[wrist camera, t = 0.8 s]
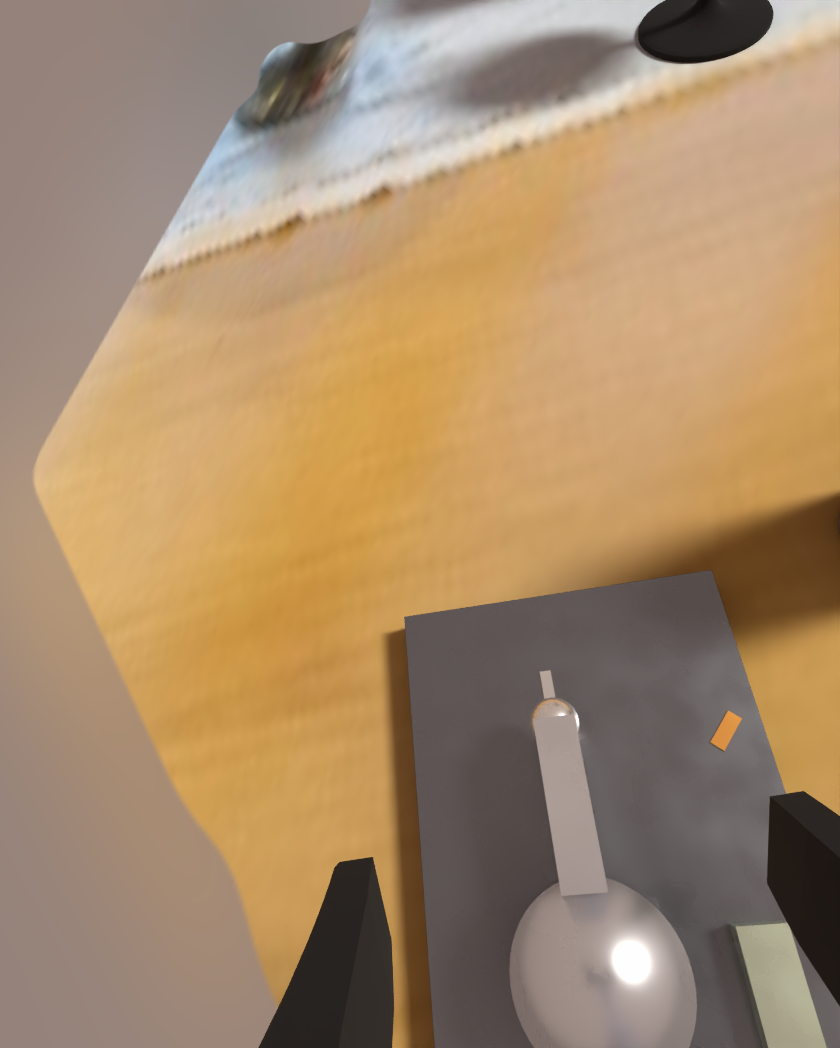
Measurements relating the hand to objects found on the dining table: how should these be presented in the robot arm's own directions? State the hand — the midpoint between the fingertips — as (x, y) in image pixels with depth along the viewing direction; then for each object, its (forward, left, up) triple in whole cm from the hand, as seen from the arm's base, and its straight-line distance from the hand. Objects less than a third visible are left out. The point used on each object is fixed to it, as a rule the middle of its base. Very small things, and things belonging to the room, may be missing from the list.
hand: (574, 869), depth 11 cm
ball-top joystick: (0, 0, -16) cm, 16 cm away
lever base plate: (+2, -1, -18) cm, 18 cm away
